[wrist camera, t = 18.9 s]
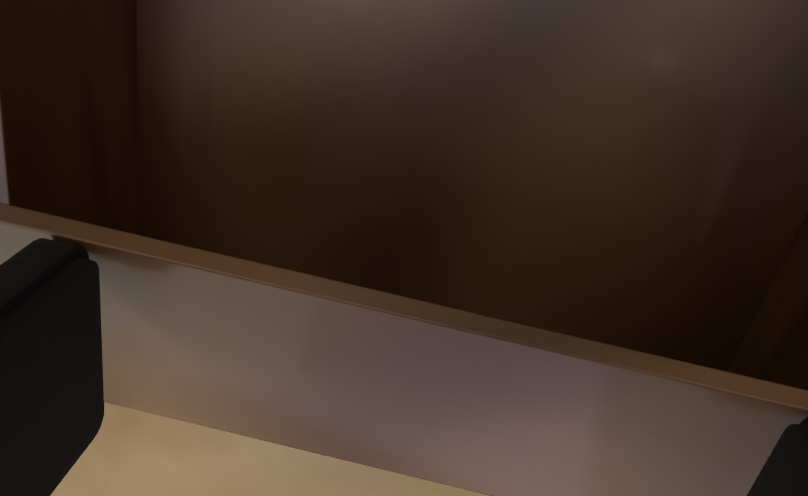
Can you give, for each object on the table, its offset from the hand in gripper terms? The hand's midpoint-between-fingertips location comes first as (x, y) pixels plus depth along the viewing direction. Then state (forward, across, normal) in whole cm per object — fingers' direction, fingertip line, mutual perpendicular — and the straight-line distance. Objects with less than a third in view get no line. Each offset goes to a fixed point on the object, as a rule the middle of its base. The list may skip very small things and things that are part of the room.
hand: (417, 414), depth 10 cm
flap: (+2, 0, +1) cm, 2 cm away
